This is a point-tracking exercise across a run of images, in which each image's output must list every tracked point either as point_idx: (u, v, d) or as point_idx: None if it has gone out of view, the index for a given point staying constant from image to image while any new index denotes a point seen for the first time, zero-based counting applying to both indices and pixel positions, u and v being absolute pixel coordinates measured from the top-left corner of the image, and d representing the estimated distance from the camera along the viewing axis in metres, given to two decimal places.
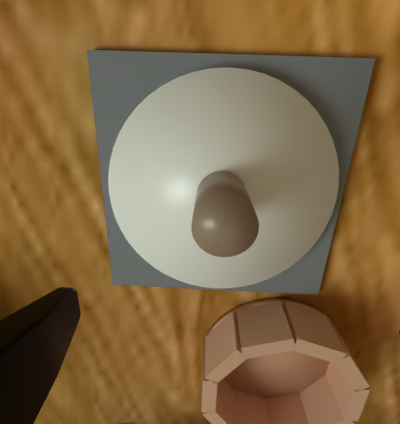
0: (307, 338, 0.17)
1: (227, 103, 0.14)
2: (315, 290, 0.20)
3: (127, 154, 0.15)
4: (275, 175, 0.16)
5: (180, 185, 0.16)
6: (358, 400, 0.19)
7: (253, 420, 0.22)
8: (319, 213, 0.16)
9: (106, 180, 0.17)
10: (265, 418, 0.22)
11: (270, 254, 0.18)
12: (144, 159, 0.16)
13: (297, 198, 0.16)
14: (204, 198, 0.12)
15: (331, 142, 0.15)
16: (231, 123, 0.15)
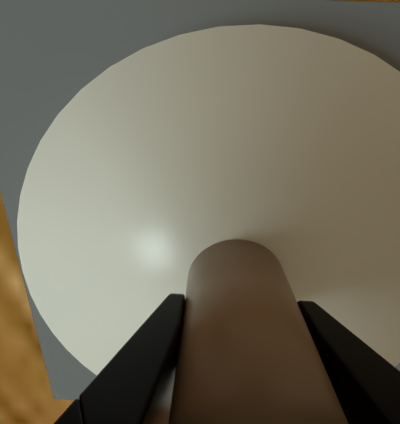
0: None
1: (253, 107, 0.07)
2: None
3: (49, 207, 0.08)
4: (342, 249, 0.08)
5: (157, 264, 0.08)
6: None
7: None
8: None
9: None
10: None
11: None
12: (84, 217, 0.08)
13: (382, 288, 0.08)
14: (202, 366, 0.05)
15: None
16: (260, 149, 0.07)
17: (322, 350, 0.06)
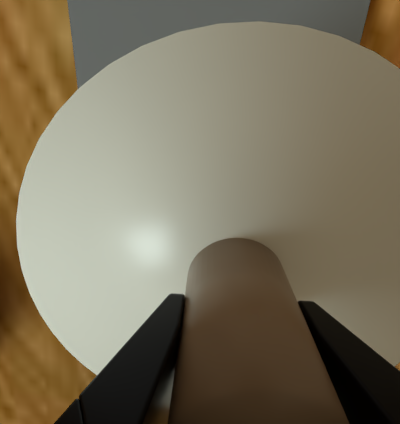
0: None
1: (253, 104, 0.07)
2: None
3: (49, 206, 0.08)
4: (342, 248, 0.08)
5: (157, 262, 0.08)
6: None
7: None
8: None
9: None
10: None
11: None
12: (83, 215, 0.08)
13: (382, 287, 0.08)
14: (201, 364, 0.04)
15: None
16: (260, 147, 0.07)
17: (322, 350, 0.06)
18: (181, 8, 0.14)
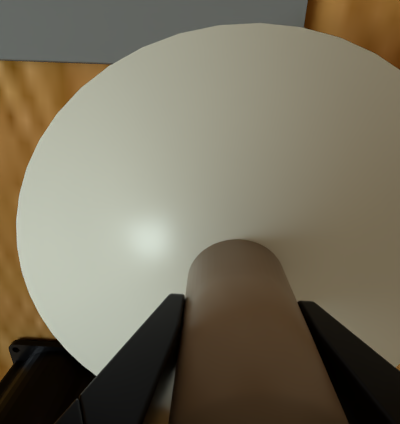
0: None
1: (253, 106, 0.07)
2: None
3: (49, 207, 0.08)
4: (342, 249, 0.08)
5: (157, 264, 0.08)
6: None
7: None
8: None
9: None
10: None
11: None
12: (83, 217, 0.08)
13: (382, 289, 0.08)
14: (201, 367, 0.04)
15: None
16: (260, 148, 0.07)
17: (322, 350, 0.06)
18: None
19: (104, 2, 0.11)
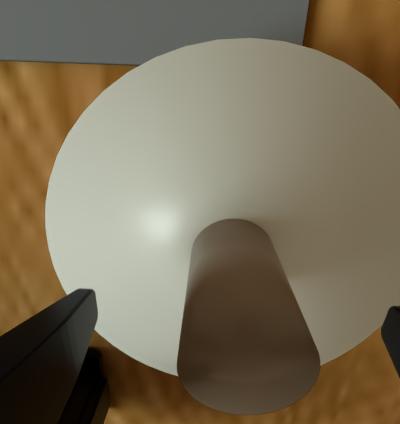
0: None
1: (246, 105, 0.08)
2: None
3: (74, 191, 0.09)
4: (323, 227, 0.09)
5: (165, 240, 0.10)
6: None
7: None
8: (391, 285, 0.10)
9: None
10: None
11: None
12: (103, 199, 0.09)
13: (358, 262, 0.10)
14: (204, 304, 0.06)
15: None
16: (252, 140, 0.08)
17: None
18: None
19: (100, 1, 0.11)
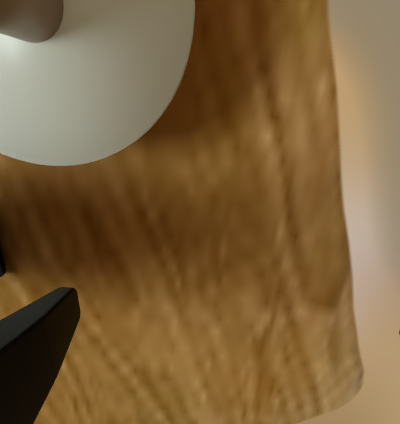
0: None
1: None
2: None
3: None
4: None
5: None
6: None
7: None
8: (173, 34, 0.11)
9: None
10: None
11: (116, 108, 0.12)
12: None
13: (138, 5, 0.11)
14: None
15: None
16: None
17: None
18: None
19: None
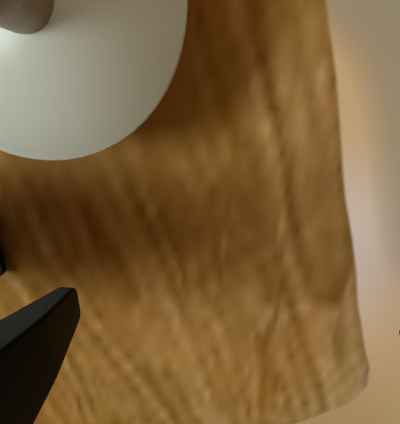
0: None
1: None
2: None
3: None
4: None
5: None
6: None
7: None
8: (166, 21, 0.11)
9: None
10: None
11: (110, 99, 0.12)
12: None
13: None
14: None
15: None
16: None
17: None
18: None
19: None
